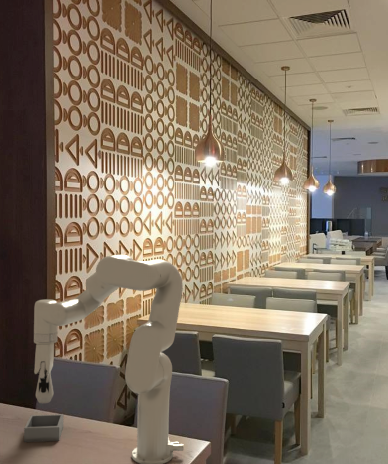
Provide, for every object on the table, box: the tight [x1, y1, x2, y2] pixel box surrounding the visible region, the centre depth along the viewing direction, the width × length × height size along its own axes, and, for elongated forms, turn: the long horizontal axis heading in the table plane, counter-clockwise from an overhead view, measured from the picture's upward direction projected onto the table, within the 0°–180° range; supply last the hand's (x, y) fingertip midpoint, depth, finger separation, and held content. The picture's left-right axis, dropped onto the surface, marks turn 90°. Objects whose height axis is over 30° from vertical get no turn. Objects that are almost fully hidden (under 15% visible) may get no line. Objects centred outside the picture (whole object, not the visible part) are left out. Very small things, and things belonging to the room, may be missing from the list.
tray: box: [23, 413, 65, 443], centre depth 170 cm, size 11×11×4 cm
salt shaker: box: [35, 369, 54, 404], centre depth 170 cm, size 6×6×13 cm
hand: (44, 391), depth 170 cm, fingers closed on salt shaker, 3 cm apart
